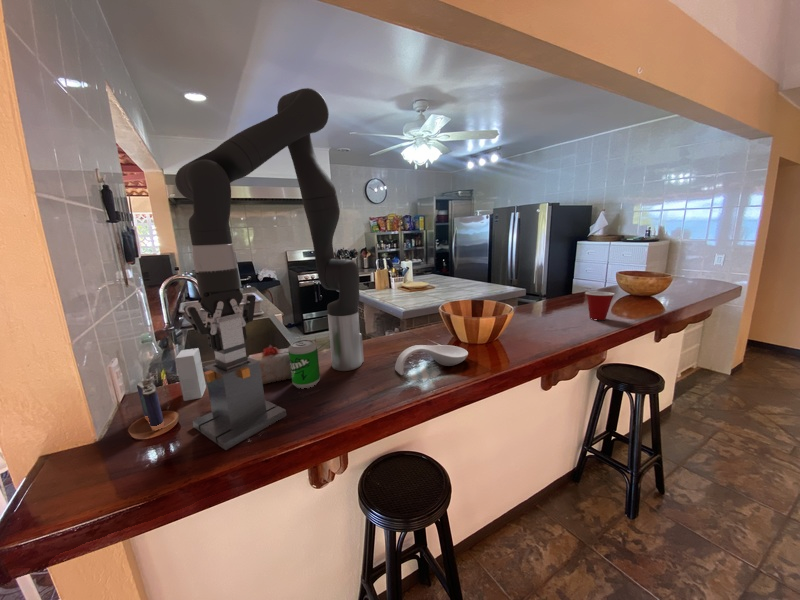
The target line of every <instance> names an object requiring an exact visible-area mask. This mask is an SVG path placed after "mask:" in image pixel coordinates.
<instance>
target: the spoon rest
mask: <svg viewBox="0 0 800 600" xmlns="http://www.w3.org/2000/svg"><path fill="white" fill-rule="evenodd" d="M418 352H422V353H425V354H427V355H428V356H429V357H430V358H431V359H433V360H434V361H435V362H436V363H438V364H439V365H441V366H444V367H445V366H446V367H447V366H448V367H450V366H455V365H458V364H460V363H462V362H463V361H465V360H466V359H467V357H468V355H469V352H468V351H467V349H465V348H463V347H460V346H457V345H456V346H455V345H449V344H448V345H447V344H438V345H428V344H427V345H425V344H415V345H412V346H410V347H407V348H406V349H404V350H403V351H402V352H401V353H400V354H399V356H398V357H397V358H396V362H395V363H394V364H395V365H394V366H395V367H394V370H395V371H396V373H398V374H399V375H400V376H403V375H404V373H405V372H404V370H405V369H404V367H405V363H406V361H407V360H408V358H409V357H411V355H413V354H416V353H418Z"/></svg>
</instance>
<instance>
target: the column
mask: <svg viewBox="0 0 800 600" xmlns="http://www.w3.org/2000/svg"><path fill="white" fill-rule="evenodd" d="M242 314H243V312H242V311H241V312H240V313H236V314H235V313H232V314H228V315H223V316H221V317H217V318H215V319H216V323H218V324H217V325H218V327H217V332H216V334H218V336H219V342H220V348H221V349H220V351H218V352H216V351H214V357H215V358H214V363H216V364H217V368H218V369H221V370H223V371H225V372H226V371H229V370H232V369H234V368H237V367H240V366H242V365H245V364H247V360H248V357H249V356H248V355H247V352H246V350H247V349H246V348H247V345H246V344H247V343H246V342H245V343H244V337H243V330H242V323H241V317H242ZM209 318H211V319H213V316H209Z"/></svg>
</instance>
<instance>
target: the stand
mask: <svg viewBox="0 0 800 600" xmlns="http://www.w3.org/2000/svg"><path fill="white" fill-rule="evenodd" d="M247 357H248V360H247V364H245V365H242V366H240V367H237V368H234V369H232V370H229V371H226V372H225V371H223V370H221V369H218V368H217V364H216V363H215V362H214V363H211V364H208V365H205V366H203V373H204V379H205V383H206V388H207V393H208V397H209V404H210V407H211V408H210V409H211V412H209V413H207V414H204V415H202V416H200V417H198V418H195V419H194V420H192V425H193V428H194V429H195V430H197V431H198V432H200V433H201V434H202V435H203V436H204V437H207V438H208V439H209V440H211V441H212V442H214V444H217V445H218V446H219V447H220V448H222V449H223V450H225V451H227V450H229V449H230V448H233V447H235V446H236V445H237V444H240V443H241V442H243V441H245V440H246V439H248V438H250V437H252V436H254V435H256V434H257V433H259V432H261V431H262V430H264V429H266V428H268V427H270V426H272V425H273V424H275V423H277V422H278V420H279V421H281V420H282V419H284V418H286V417H287V409H285V408H283V407H281V406H279V405H277V404H275V403H272V402H271V401H268V399H267V400H266V399H265V398H266V397H265V391H264V384H263V383H262V375H261V368H260V361H257V360H254V359H252V358H249V356H247ZM276 421H277V422H276ZM269 425H270V426H269Z"/></svg>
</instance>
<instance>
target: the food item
mask: <svg viewBox="0 0 800 600" xmlns="http://www.w3.org/2000/svg"><path fill="white" fill-rule="evenodd" d="M288 348H289V347H287V348H280V349H279V348H277V346H273V345H271V344H269V345H268V346H266V347H265V348H264V349H263V350H262V352H260V353H253V354H249V355H248V357H249V358H252V359H254V360H257V361H260V368H261V375H262V383H263V385H267V384H271V382H272V383H277V382H282V381H286V379H288V380H292V376H291V368H290V359H289V351H288ZM281 380H282V381H281ZM276 381H277V382H276Z"/></svg>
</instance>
